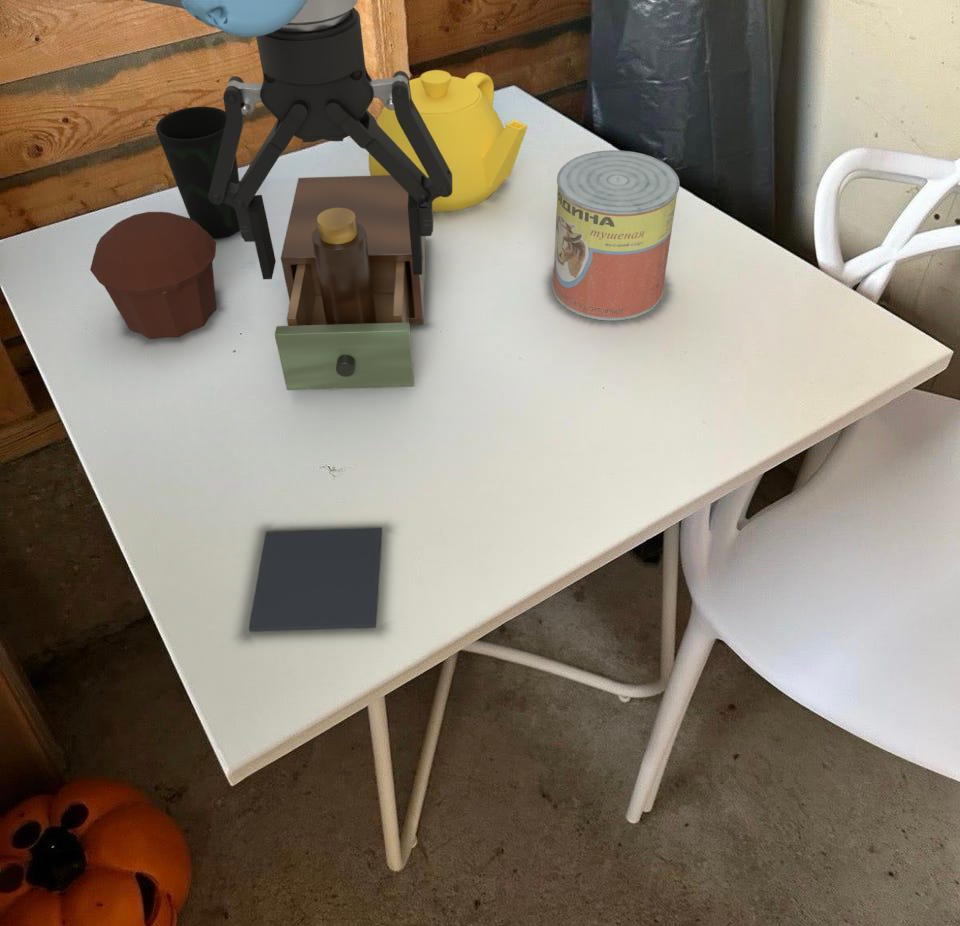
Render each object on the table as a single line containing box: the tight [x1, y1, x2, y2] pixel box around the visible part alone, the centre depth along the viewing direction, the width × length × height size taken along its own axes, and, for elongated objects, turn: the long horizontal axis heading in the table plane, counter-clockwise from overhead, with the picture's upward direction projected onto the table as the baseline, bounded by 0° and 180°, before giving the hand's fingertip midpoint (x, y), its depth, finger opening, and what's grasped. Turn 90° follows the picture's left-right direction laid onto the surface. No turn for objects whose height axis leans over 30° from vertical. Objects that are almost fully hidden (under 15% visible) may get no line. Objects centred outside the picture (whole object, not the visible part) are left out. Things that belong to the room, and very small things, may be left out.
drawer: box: [274, 261, 415, 391], centre depth 85 cm, size 15×11×6 cm
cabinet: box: [280, 175, 427, 326], centre depth 93 cm, size 15×13×8 cm
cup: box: [155, 106, 240, 240], centre depth 100 cm, size 8×8×12 cm
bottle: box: [311, 208, 377, 325], centre depth 82 cm, size 5×5×13 cm
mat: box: [248, 527, 383, 632], centre depth 69 cm, size 9×9×1 cm
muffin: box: [89, 211, 217, 340], centre depth 89 cm, size 12×11×10 cm
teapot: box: [368, 69, 528, 213], centre depth 105 cm, size 20×19×13 cm
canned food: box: [551, 149, 681, 322], centre depth 90 cm, size 11×11×12 cm
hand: (343, 268), depth 81 cm, fingers open, 12 cm apart
